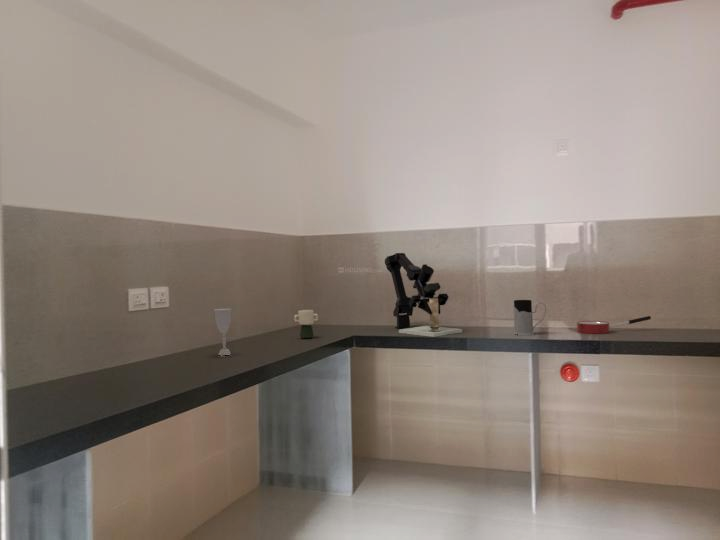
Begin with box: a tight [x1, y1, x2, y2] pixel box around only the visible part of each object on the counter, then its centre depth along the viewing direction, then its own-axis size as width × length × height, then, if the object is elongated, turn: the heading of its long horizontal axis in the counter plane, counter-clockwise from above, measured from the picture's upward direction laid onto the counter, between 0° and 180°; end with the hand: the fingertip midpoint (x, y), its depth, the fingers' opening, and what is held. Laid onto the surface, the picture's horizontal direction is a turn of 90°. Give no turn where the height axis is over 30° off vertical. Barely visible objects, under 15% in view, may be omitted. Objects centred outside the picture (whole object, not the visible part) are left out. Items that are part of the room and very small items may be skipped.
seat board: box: [398, 325, 463, 338], centre depth 253 cm, size 23×19×2 cm
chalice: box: [213, 308, 232, 357], centre depth 208 cm, size 7×7×18 cm
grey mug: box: [513, 299, 547, 336], centre depth 235 cm, size 9×14×15 cm, turn 78°
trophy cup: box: [293, 309, 319, 339], centre depth 248 cm, size 11×7×13 cm, turn 98°
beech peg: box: [428, 298, 440, 332], centre depth 245 cm, size 4×4×15 cm
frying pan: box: [576, 315, 652, 335], centre depth 236 cm, size 32×13×6 cm, turn 97°
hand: (435, 313), depth 243 cm, fingers closed on beech peg, 4 cm apart
